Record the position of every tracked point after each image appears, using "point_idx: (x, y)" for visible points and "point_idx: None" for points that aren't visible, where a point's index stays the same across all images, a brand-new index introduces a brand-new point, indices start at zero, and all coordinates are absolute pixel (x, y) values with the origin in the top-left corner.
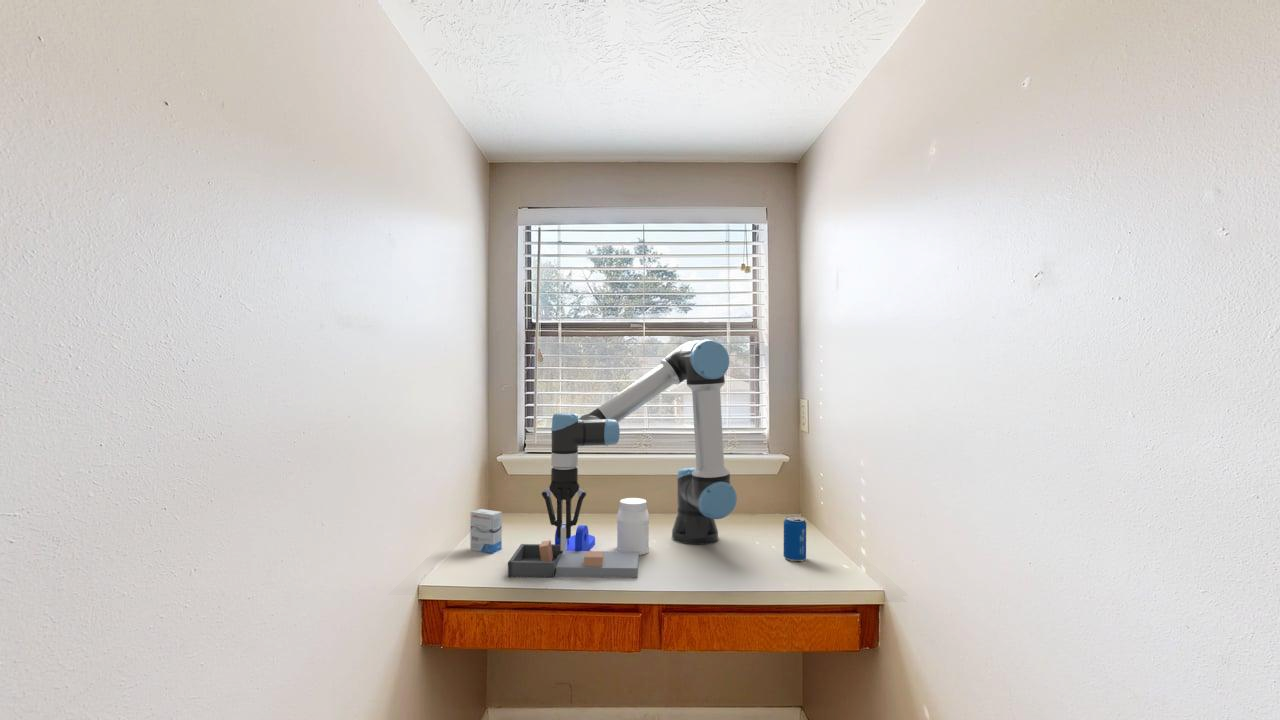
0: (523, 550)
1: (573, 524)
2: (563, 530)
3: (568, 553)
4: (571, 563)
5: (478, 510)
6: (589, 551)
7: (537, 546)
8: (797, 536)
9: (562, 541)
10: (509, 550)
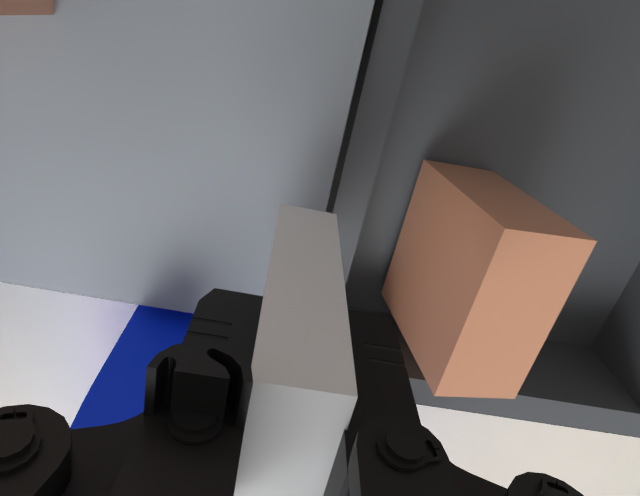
0: (624, 377)
1: (45, 424)
2: (302, 353)
3: (254, 257)
4: None
5: None
6: None
7: (527, 389)
8: None
9: (317, 257)
10: (626, 482)
